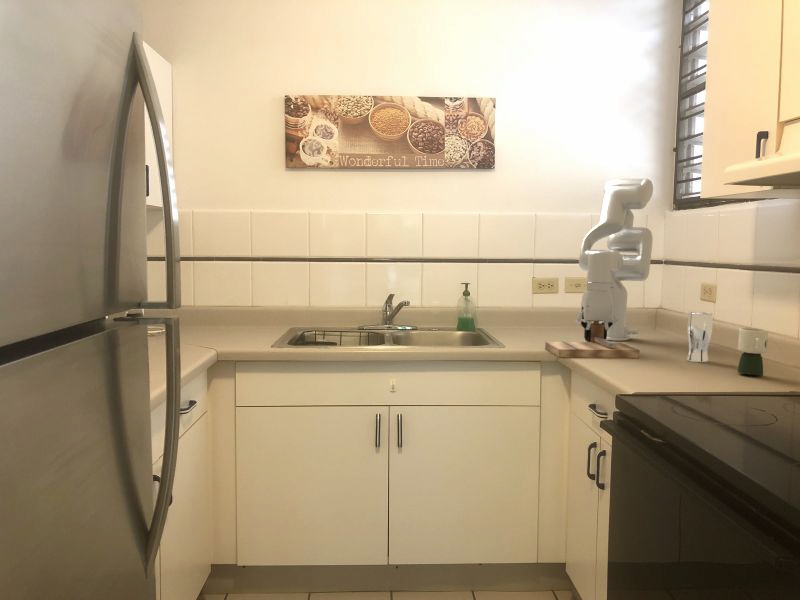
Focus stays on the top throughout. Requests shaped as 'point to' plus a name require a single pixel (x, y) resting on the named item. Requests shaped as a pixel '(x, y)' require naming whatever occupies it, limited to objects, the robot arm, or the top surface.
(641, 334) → the top surface
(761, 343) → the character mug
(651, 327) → the top surface
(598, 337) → the marking gauge
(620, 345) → the oak board
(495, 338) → the top surface
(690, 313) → the beer glass
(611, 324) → the robot arm
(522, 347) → the top surface
